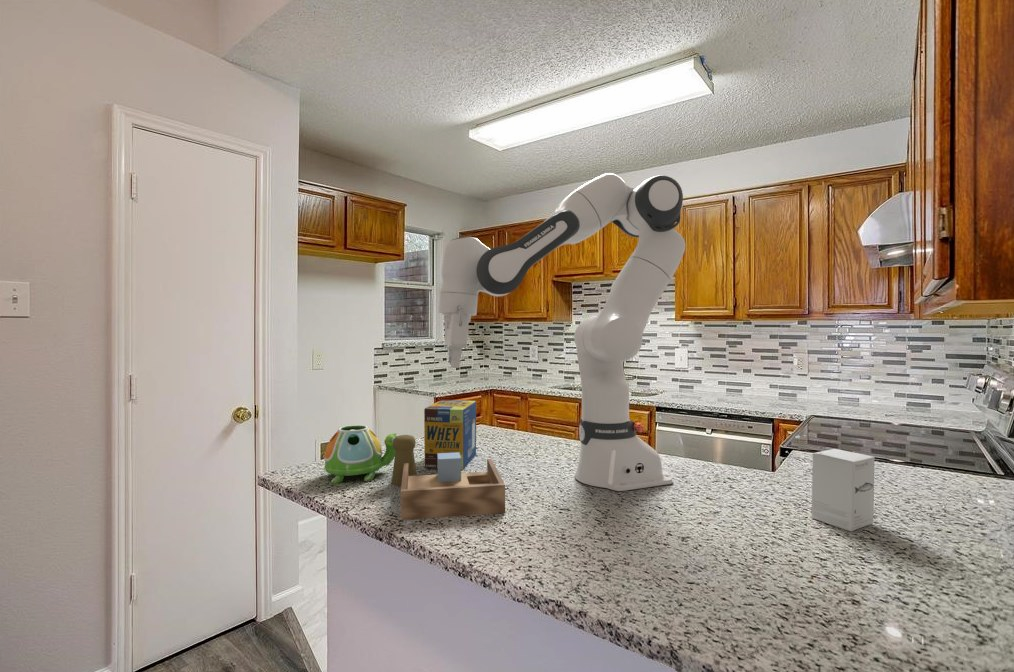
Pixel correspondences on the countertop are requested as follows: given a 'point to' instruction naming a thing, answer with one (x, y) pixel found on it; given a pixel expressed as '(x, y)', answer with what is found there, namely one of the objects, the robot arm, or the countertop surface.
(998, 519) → the countertop surface
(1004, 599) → the countertop surface
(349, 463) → the turtle holder
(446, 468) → the slate block
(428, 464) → the protein box
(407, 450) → the cork
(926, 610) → the countertop surface
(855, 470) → the supplement box
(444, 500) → the tray
